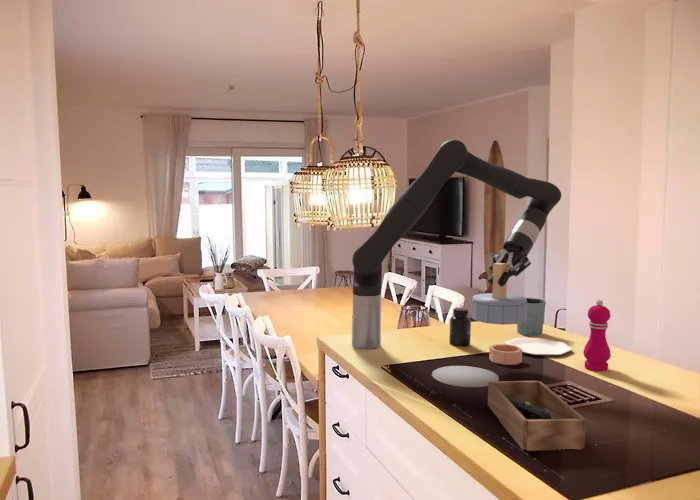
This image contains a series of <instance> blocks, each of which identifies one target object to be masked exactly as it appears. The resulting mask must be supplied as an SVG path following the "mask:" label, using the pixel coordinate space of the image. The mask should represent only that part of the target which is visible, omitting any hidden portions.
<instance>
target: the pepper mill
mask: <svg viewBox="0 0 700 500" xmlns="http://www.w3.org/2000/svg"><path fill="white" fill-rule="evenodd" d="M595 304H596V305H592V306H591V307H590V308H589V309H588V310H587V317H588V319H589V322H588V323H589V325H588V326H589V329H590V335H589V338H588V340H587V342H586V343H585V346H584V348H583V351H582V352H583V356H584V358H585V359H586V360H584V368H585V369H586V370H589V371H593V372H599V371H601V372H602V371H604V372H607V371H608V370H609V363H608V361H609V360H610V359H611V349H610V346H609V344H608V341H607V338H606V337H607V335H606V333H607V329H609V326H608V325H609V323H608V322H609V320H610V318H611V311H610V309H609V308H607V307H606V306H605V305H604V302H603V300H601V299H599V300H598V299H597V300H596V302H595Z"/></svg>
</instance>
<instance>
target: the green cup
mask: <svg viewBox="0 0 700 500" xmlns="http://www.w3.org/2000/svg"><path fill="white" fill-rule="evenodd" d="M526 298H527V320H526V322H523V323H519V324H516V328H517V329H516V333H518V334H519V335H521V336H526V337H540V336H542V335H543V329H544V326H543V325H544V319H545V309H546V304H547V301H546V300H544V299H541V298H535V297H526Z"/></svg>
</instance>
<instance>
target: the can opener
mask: <svg viewBox="0 0 700 500" xmlns="http://www.w3.org/2000/svg"><path fill="white" fill-rule="evenodd" d="M505 397H506V396H505ZM506 398H507V399H508V400H509V401H510V402H511V403H512V404H513V405H514V406H515V407H516V409H517V410H518V411H519V412H520V413H521V414H522V415H523V416H524V417H525V418H526V419H527V420H536V419H552V418H551V415H550V414H549V411H548V409H540V408H538V407H537V406H533V405H531V404H530V403H529V402H524V401H521V400H518V399H514V398H511V397H506Z"/></svg>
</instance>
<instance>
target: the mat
mask: <svg viewBox="0 0 700 500" xmlns="http://www.w3.org/2000/svg"><path fill="white" fill-rule="evenodd" d="M431 376H432V378H433V379H434V380H436V381H438V382H440V383H442V384H446V385H450V386H455V387H463V388H482V387H488V383H489V382H491V381H499V380H500V378H499V375H498V374H496V372H493V371H491V370H489V369H485V368H481V367H476V366H468V365H449V366H448V365H447V366H442V367H438V368H437V369H434V370H433V371H432V373H431Z"/></svg>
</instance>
